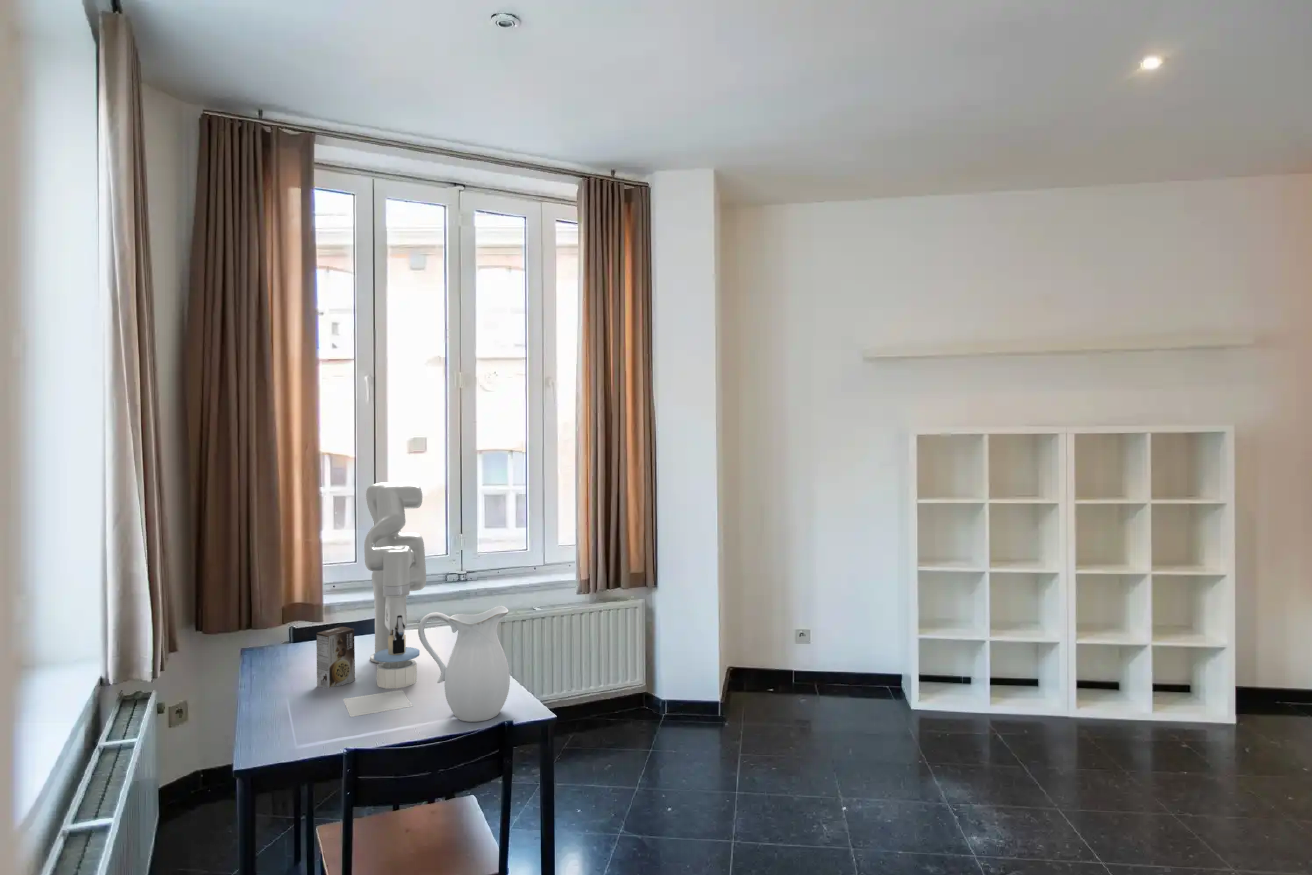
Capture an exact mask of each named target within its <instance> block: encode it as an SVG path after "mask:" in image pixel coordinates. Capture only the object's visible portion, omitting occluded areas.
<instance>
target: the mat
mask: <svg viewBox="0 0 1312 875" xmlns="http://www.w3.org/2000/svg"><path fill="white" fill-rule="evenodd" d="M342 700H343V702H344V705H345V706H346V707H345V708H346V710H347V712H348V715H349V717H350V718H354V717H359V716H365V715H371V714H377V713H382V712H383V713H384V712H389V711H394V710H400V709H407V708H411V707H414V706H413V704H412V703H411V701H410V699H409V698H408V697H407V695H406V693H405V692H404V691H403V689H399V690H393V691H387V692H386V691H385V692H380V693H374V694H366V695H361V696H354V697H349V698H348V697H347V698H343V699H342Z"/></svg>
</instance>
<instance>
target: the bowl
mask: <svg viewBox="0 0 1312 875" xmlns="http://www.w3.org/2000/svg"><path fill="white" fill-rule="evenodd" d="M417 664H418V663H417V661H416V660H414V659H410V660H406V661H400V662H382V663H378V664H377V665H376V685H377V687H379V688H382V689H399V688H406V687H409V686H411V685H412V686H413V685H415V683H416V682H417V681H418V680H417V679H418V678H417V677H418V676H417V675H418V674H417V672H418V670H417V667H418V666H417Z"/></svg>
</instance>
